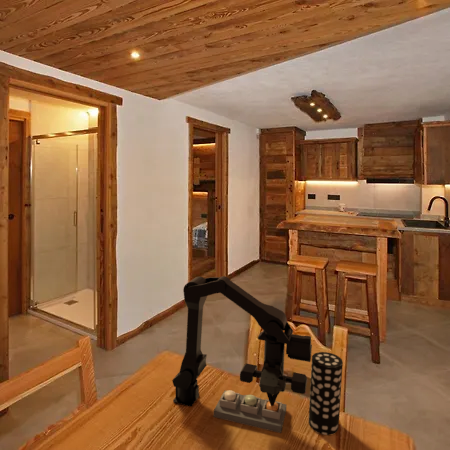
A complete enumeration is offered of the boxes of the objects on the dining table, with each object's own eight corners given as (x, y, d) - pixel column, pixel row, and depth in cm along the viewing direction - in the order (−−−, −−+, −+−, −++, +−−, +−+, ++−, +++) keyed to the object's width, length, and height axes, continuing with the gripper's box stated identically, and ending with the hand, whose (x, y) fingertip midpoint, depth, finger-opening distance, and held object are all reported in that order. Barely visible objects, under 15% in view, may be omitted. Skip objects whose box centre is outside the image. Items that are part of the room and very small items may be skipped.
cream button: (222, 401, 104) (223, 395, 104) (226, 395, 107) (226, 389, 107) (233, 404, 103) (233, 398, 103) (236, 397, 106) (237, 391, 106)
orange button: (265, 413, 100) (265, 407, 100) (267, 406, 103) (267, 400, 103) (276, 416, 99) (277, 409, 99) (278, 408, 102) (279, 402, 102)
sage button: (243, 406, 102) (243, 400, 102) (246, 399, 105) (246, 393, 105) (254, 409, 101) (255, 402, 101) (257, 402, 104) (257, 396, 104)
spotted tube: (340, 437, 95) (344, 369, 92) (309, 432, 96) (312, 365, 94) (336, 416, 103) (340, 353, 100) (308, 412, 104) (311, 350, 102)
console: (213, 416, 102) (213, 404, 101) (224, 396, 111) (224, 385, 111) (281, 433, 96) (281, 420, 95) (286, 410, 105) (286, 398, 105)
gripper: (234, 362, 94) (233, 415, 96) (304, 376, 88) (301, 431, 91) (245, 344, 105) (244, 392, 107) (308, 355, 99) (305, 405, 101)
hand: (272, 404), depth 101 cm, fingers closed
